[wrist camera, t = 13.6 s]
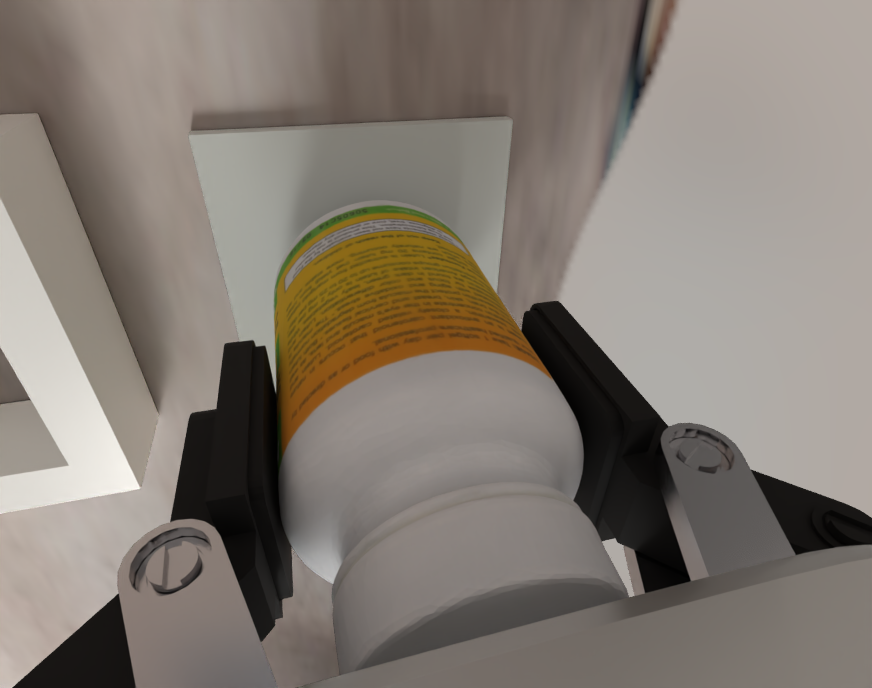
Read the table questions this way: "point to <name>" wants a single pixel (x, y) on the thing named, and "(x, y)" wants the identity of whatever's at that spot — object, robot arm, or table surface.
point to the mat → (343, 192)
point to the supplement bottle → (422, 443)
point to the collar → (61, 343)
